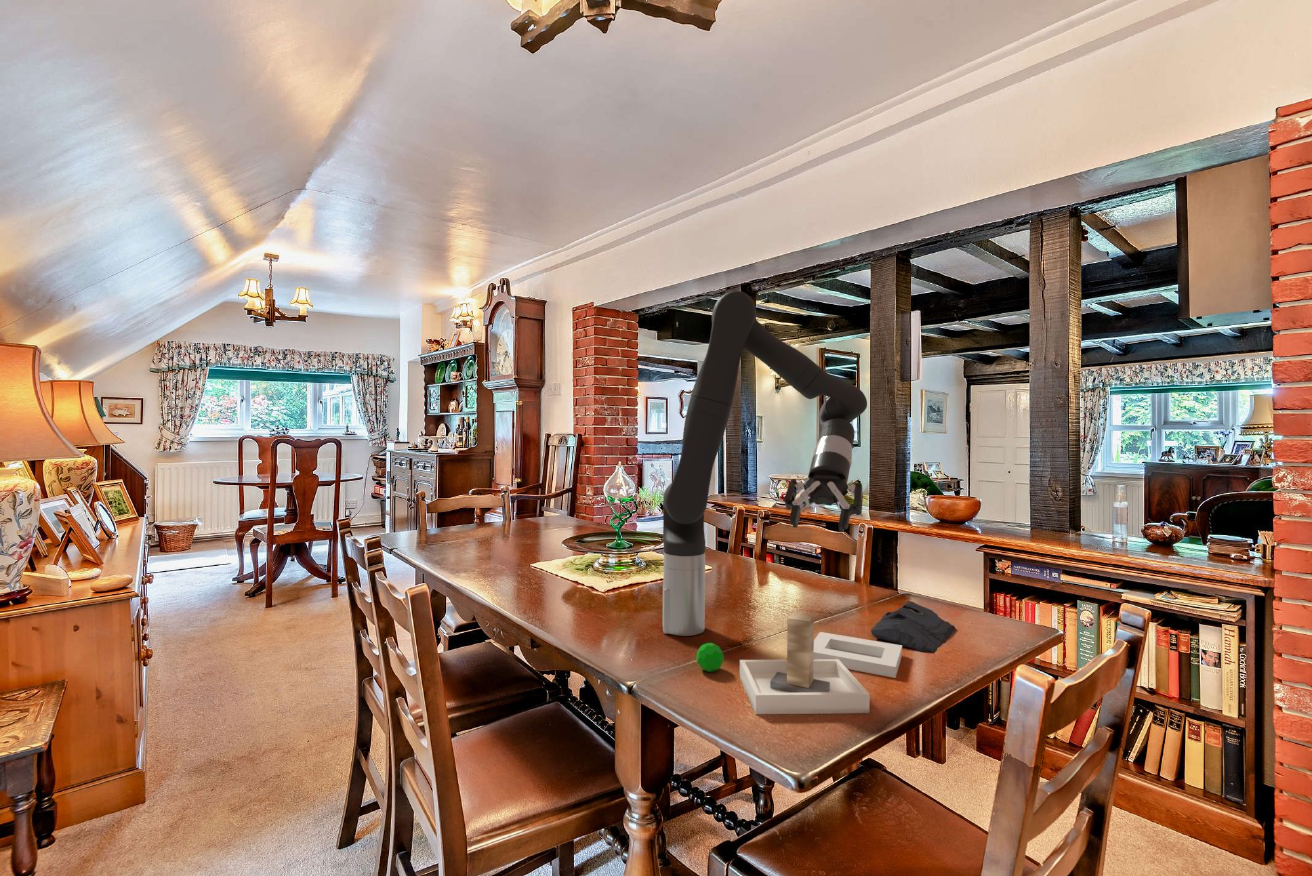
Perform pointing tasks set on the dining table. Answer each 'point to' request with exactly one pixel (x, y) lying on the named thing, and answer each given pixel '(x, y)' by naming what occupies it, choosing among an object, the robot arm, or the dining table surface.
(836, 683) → the tray
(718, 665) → the polyhedron
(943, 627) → the dark slate chunk
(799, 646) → the wooden post on base
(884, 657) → the slot plate
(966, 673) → the dining table surface
